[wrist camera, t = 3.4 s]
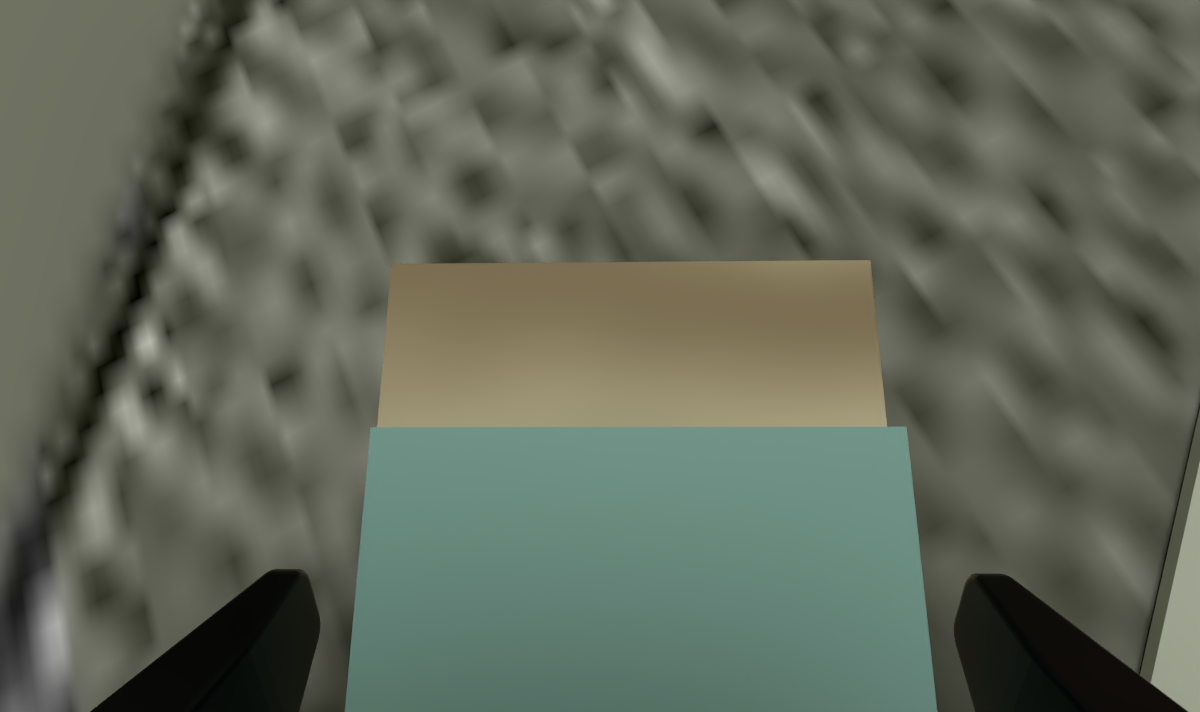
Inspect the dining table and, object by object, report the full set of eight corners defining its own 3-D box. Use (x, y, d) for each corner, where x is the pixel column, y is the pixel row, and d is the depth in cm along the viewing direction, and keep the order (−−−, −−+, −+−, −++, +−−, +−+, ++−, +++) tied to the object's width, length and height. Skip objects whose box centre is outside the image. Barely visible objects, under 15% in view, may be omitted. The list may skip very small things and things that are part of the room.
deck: (902, 1122, 14) (970, 1256, 12) (368, 1107, 15) (305, 1234, 12) (833, 309, 19) (870, 260, 16) (426, 312, 19) (391, 264, 16)
